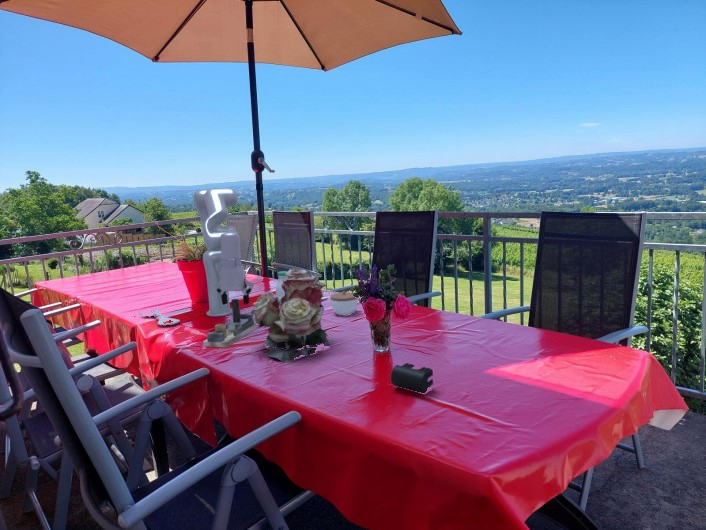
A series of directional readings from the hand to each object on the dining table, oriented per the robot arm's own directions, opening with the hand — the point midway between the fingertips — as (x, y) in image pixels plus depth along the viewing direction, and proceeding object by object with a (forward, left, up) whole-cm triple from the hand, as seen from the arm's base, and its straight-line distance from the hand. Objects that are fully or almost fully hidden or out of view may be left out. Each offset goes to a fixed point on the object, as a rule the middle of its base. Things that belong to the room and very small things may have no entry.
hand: (235, 304), depth 188 cm
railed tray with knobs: (+3, -4, -12) cm, 13 cm away
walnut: (+8, -10, -10) cm, 16 cm away
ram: (0, -1, -10) cm, 10 cm away
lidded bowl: (+8, +49, -13) cm, 51 cm away
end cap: (+88, +16, -13) cm, 90 cm away
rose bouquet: (+35, +8, -13) cm, 38 cm away
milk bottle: (-15, +30, -13) cm, 36 cm away
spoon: (-45, -20, -13) cm, 51 cm away
